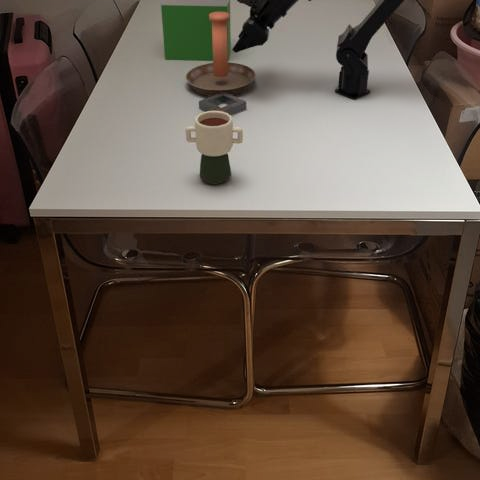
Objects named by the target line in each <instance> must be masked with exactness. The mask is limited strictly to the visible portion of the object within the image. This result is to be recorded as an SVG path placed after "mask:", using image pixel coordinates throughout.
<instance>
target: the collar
mask: <svg viewBox="0 0 480 480" xmlns="http://www.w3.org/2000/svg"><path fill="white" fill-rule="evenodd" d="M225 103H226V104H225ZM223 104H225V106H223V107H222V106H219V105H223ZM227 104H228V105H227ZM198 110H201V111H202V110H203V112H207V111H222V112H225V113H228V114H229V115H231V116H233V114H234V115H236V114H238V112H239V113H241V112H244V111H246V110H247V101H246V100H244V99H241V98H239V97H237V96H235V95H231V94H228V93H226V92H222V93H219V94H216V95H214V96H208V97H206V98H203V99H201V100H199V101H198ZM243 110H244V111H243ZM240 111H241V112H240Z"/></svg>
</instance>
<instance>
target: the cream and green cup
mask: <svg viewBox="0 0 480 480" xmlns="http://www.w3.org/2000/svg"><path fill="white" fill-rule="evenodd" d="M233 121H234V120H233V117H232V115H231V116H230V115H229V114H228V113H225V112H222V111H207V112H205V111H203V112H201V113H199V114H197V115H196V117H195V118H194V126H191V125H190V126H185V141H186V142H187V143H195V145H196V149H197V151H198V152H199V153H200V154H201V155H200V164H199V177H200V179H201V180H202V181H203V182H206V183H208V184H216V185H218V184H221V183H222V184H223V183H225V182H226V181H227V180H229V179H230V178H231V176H232V171H231V170H232V169H231V164H230V159H229V158H230V157H229V154H228V153H230V152H231V150H232V147H233V145H234V144H237V145H238V144H243V141H244V139H243V138H244V136H243V135H244V133H243V132H244V131H243V128H241V127H238V126H237V127H235V126H234V125H233ZM233 126H234V127H233ZM191 132H195V137H192V133H191ZM233 133H237V138H233V136H234V135H233Z"/></svg>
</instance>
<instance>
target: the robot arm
mask: <svg viewBox="0 0 480 480" xmlns="http://www.w3.org/2000/svg"><path fill="white" fill-rule="evenodd" d="M307 1H309V2H312V0H307ZM404 1H405V0H379V1H378V2H377V3H376V4H375V6H374V7H373V8H372V9H371V10H370V12H369V13H368V14H367V15H366V17H364V19H363V20H362V21H361V22H360V23H359V24H358V25H356V26H354V27H353V26H352V25H351V24H348V25H347V26H346V29H345V30H344V31H343V32H342V33H341V34H339V35H338V38H337V42H336V43H337V44H336V51H335V59H336V60H337V62H338V64H339V65H341V66H340V67H341V68H340V71H339V74H338V88H336V89H334V92H335V93H337V94H339V95H342V96H345V97H347V98H349V99H352V100H356V99H360V97H363V96H365V95H367V94H370V93H371V89H369V88H368V82H369V75H370V74H369V73H370V70H369V58H368V57H369V56H368V54H367V53H366V49H367V48H368V46H369V44H370V42H371V40H372V38H373V37H374V36H375V34H377V33H378V31H379V30H380V29H381V28H382V26H384V24H385V23H386V22H388V20H389V19H390V17H391V16H392V15H393V14H394V13H395V12H396V11H397V10H398V9H399V7H400V6H401V5H402V3H403V2H404ZM236 2H238V3H239V4H244V5H246V6H248V7H249V8H250V9H249V17H248V18H247V19H246V20H245V21H244V22H243V25H242V27H241V28H242V29H241V31H240V33H239V34H238V35H237V38H238V40H237V42H236V43H235V45H234V46H233V47H232V48H231V51H233V53H239V52H242V51H244V50H249V49H250V48H254V47H257V46H258V47H259V46H263V45H265V43H267V42H268V40H269V37H270V30H272V29H273V28H274V27H275V24H276V23H277V22H278V21H279V20H280V19H281V18H285V16H287V14H288V12H289V11H290V10H291V9H292V8H293V6H295V5H296V4H297V3H298V2H299V0H236Z"/></svg>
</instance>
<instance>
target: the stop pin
mask: <svg viewBox="0 0 480 480" xmlns="http://www.w3.org/2000/svg"><path fill="white" fill-rule="evenodd" d="M209 20H210V21H212V42H213V61H212V63H213V72H214V76H216V77H225V76H227V75H228V62H229V60H227V20H229V13H227V12H212V13H210V14H209Z"/></svg>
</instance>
